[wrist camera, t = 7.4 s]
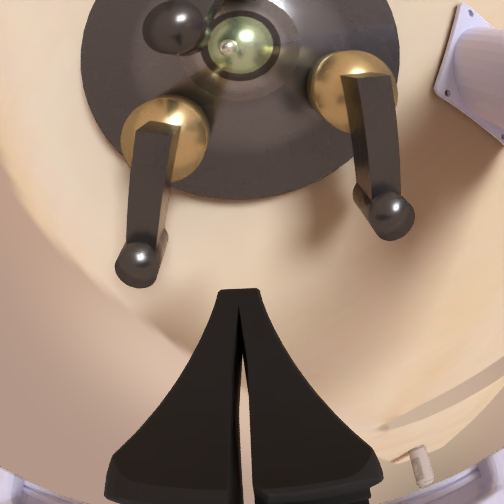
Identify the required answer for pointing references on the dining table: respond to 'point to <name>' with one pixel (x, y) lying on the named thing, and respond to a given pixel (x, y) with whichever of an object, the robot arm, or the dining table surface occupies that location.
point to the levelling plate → (238, 85)
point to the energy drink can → (421, 466)
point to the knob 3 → (365, 132)
